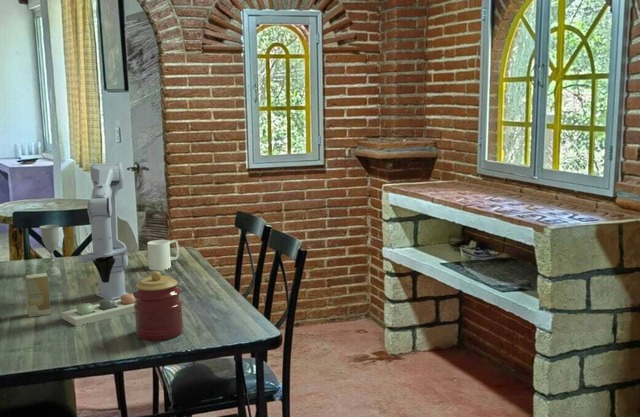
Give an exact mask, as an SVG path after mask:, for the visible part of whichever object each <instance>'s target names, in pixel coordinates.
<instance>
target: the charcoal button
mask: <svg viewBox="0 0 640 417" xmlns="http://www.w3.org/2000/svg"><path fill="white" fill-rule="evenodd" d="M114 300H115V299H112V298H107V299H104V298H102V299H100V300H99V301H98V302H99V303H98V304H100V309H101V310H108V309H112V308H115V302H114Z"/></svg>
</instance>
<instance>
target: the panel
mask: <svg viewBox="0 0 640 417" xmlns="http://www.w3.org/2000/svg"><path fill="white" fill-rule="evenodd" d="M114 302H115V308H112V309H108V310H101V309H100V304H99V303H97V304H92V306H93V313H91V314H87V315H82V316H80V315H78V314H77V308H75V309H71V310H70V309H69V310H66V311H63V312H62V311H61V317H62V320H64V321H66V322H67V321H68V323H70V324H71V325H73V326H75V327H80V326H84V325H88V324H92V323H97V322H101V321H104V320H105V321H106V320H108V319H112V318H117V317H121V316H124V315H129V314H133V313H135V308H134V304H135V303H133V304H129V305H123V304H121V298H118V299H114ZM87 323H88V324H87ZM83 324H84V325H83ZM79 325H80V326H79Z"/></svg>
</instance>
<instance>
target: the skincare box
mask: <svg viewBox="0 0 640 417" xmlns="http://www.w3.org/2000/svg"><path fill="white" fill-rule="evenodd" d="M25 288H26V290H25V291H26V292H25V293H26V307H27V315H28V317H29V318H31V317H37V316H46V315H51V305H50V304H51V303H50V302H51V301H50V289H49V288H50V287H49V275H47V272H45V273H43V272H42V273H33V274H26V275H25Z"/></svg>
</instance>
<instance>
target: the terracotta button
mask: <svg viewBox="0 0 640 417" xmlns="http://www.w3.org/2000/svg"><path fill="white" fill-rule="evenodd" d="M120 299H121V304H123V305H129V304H133V303H135V297H134V296H133V293H129V294H124V295H121V298H120Z"/></svg>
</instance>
